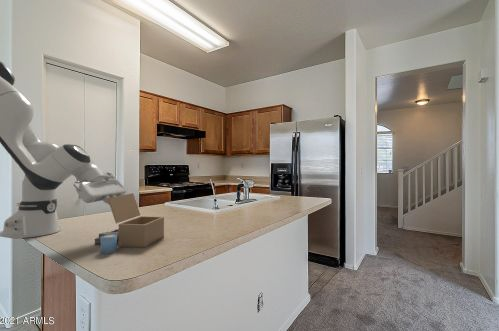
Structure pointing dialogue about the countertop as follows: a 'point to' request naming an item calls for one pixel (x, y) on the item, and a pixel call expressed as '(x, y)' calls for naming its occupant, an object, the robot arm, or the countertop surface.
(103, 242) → the light blue cube
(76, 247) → the countertop surface
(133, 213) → the flap
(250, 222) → the countertop surface
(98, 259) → the countertop surface
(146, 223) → the carton
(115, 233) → the toy gun
